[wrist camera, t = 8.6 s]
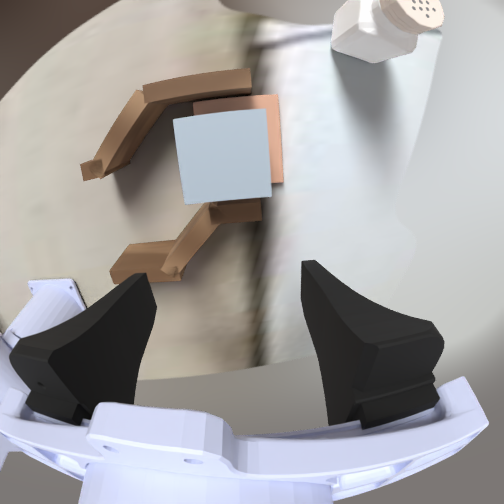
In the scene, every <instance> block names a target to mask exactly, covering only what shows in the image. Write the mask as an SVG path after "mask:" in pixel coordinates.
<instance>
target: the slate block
mask: <svg viewBox="0 0 504 504" xmlns="http://www.w3.org/2000/svg"><path fill="white" fill-rule="evenodd" d="M173 125H174V133H175V141H176V148H177V156H178V163H179V170H180V177H181V183H182V189H183V196H184V202H185V205H187V204H196V203H205V202H215V201H225V200H235V199H247V198H259V197H272V189H271V172H270V157H269V143H268V129H267V116H266V108H265V109H250V110H238V111H228V112H219V113H211V114H203V115H196V116H190V117H183V118H178V119H173Z"/></svg>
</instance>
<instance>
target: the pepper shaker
mask: <svg viewBox="0 0 504 504" xmlns="http://www.w3.org/2000/svg"><path fill="white" fill-rule="evenodd" d="M444 17H445V16H444V13H443V9H442V5H441V3H440V2H439V0H348V1H347V2H346V3H345V4H344V5H343V6H342V7H341V8H340V9H339V10H338V11H337V12H336V13H335V15H334V23H333V30H332V37H331V46H332V49H334V50H335V51H337V52H340V53H343V54H346V55H350V56H353V57H356V58H358V59H361V60H364V61H367V62H370V63H378V62H381V61H385V60H388V59H391V58H395V57H398V56H402V55H406V54H409V53H412V52H413V50H414V49H415V48H416V45H417V40H418V34H421V33H423V32H426V31H429V30H432V29H435V28H438V27H441V26H442V23H443V20H444Z"/></svg>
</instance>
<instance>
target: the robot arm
mask: <svg viewBox="0 0 504 504" xmlns="http://www.w3.org/2000/svg"><path fill="white" fill-rule="evenodd" d="M28 286H29V288H30V290H31V293H32V295H33V297H32V298H31V300H30V301H29V302H28V303H27V304H26V306H25V307H24V308H23V309H22V310H21V312H20V313H19V314H18V315H17V317H16V318H15V319H14V321H13V322H12V323H11V325H10V326H9V327H8V329H7V330H6V331H5V332H4V333H3V334H1V332H0V471H1V469H2V466H3V464H4V461H5V459H6V457H7V454H8V452H12V451H22V452H24V453H25V454H27V455H29V456H31V457H32V458H34V459H36V460H38V461H40V462H42V463H44V464H46V465H48V466H50V467H52V468H54V469H56V470H58V471H60V472H63V473H65V474H67V475H69V476H72V477H74V478H76V479H79V480H81V481H83V485H82V490H81V494H80V498H79V503H78V504H333V501H335V500H339V499H343V498H347V497H351V496H354V495H358V494H361V493H364V492H367V491H370V490H373V489H376V488H379V487H382V486H385V485H387V484H390V483H392V482H395V481H398V480H400V479H402V478H405V477H407V476H410V475H412V474H414V473H416V472H419V471H421V470H423V469H425V468H427V467H429V466H431V465H433V464H436V463H438V462H440V461H442V460H444V459H445V458H448V457H450V456H452V455H453V454H455V453H457V452H458V451H459V450H461V449H462V448H463V447H464V446H466V445H467V444H468V443H469V442H470V441H471V440H472V439H474V438H475V437H476V436H477V435H478V434H479V433H480V432H481V431H482V430H483V429H485V428H486V426H488V424H489V422H488V420H487V418H486V416H485V414H484V412H483V410H482V408H481V406H480V404H479V402H478V400H477V399H476V396H475V394H474V393H473V391H472V389H471V387H470V386H469V384H468V382H467V380H466V378H465V377H464V376H462V377H459V378H457V379H455V380H452V381H450V382H447V383H445V384H443V385H441V386H440V387H438V388H437V389H435V387H434V385H433V383H434V382H435V377H434V375H433V373H432V371H433V369H434V367H435V366H436V364H437V362H438V360H439V358H440V356H441V354H442V352H443V349H444V340H443V337H442V336H441V334H440V333H439V331H438V330H437V329H436V327H435V326H434V324H433V323H432V322H431V321H427V320H423V319H419V318H414V317H410V316H407V315H404V314H401V313H398V312H395V311H393V310H390V309H388V308H386V307H383V306H381V305H379V304H377V303H375V302H373V301H371V300H369V299H367V298H365V297H364V296H362V295H360V294H358V293H357V292H355V291H354V290H352V289H351V288H349V287H348V286H347V285H345V284H344V283H342V282H341V281H340V280H338V279H337V278H336V277H335V276H333V275H332V274H331V273H330V272H329V271H327V270H326V269H325V268H324V267H323V266H322V265H320V264H319V263H318V262H317V261H316V260H308V261H302V263H301V302H302V307H303V312H304V317H305V320H306V323H307V326H308V329H309V332H310V335H311V338H312V341H313V344H314V347H315V350H316V353H317V357H318V361H319V366H320V371H321V376H322V382H323V388H324V394H325V401H326V407H327V415H328V424H329V426H327V427H321V428H314V429H307V430H300V431H292V432H283V433H271V434H256V435H233V432H232V429H231V427H230V426H229V425H228V424H227V423H226V422H225V421H224V420H223V419H222V418H220V417H218V416H215V415H213V414H210V413H208V412H203V411H197V410H190V409H176V408H161V407H150V406H141V405H134V397H135V389H136V383H137V377H138V372H139V367H140V363H141V360H142V357H143V354H144V351H145V348H146V345H147V342H148V339H149V336H150V334H151V331H152V328H153V325H154V320H155V315H156V310H157V305H156V302H155V299H154V296H153V293H152V290H151V287H150V284H149V280H148V277H147V274H146V273H135V274H133V275H131V276H130V277H128V278H127V279H126V280H124V281H123V282H122V283H120V284H119V285H118V286H117V287H115V288H114V289H113V290H111V291H110V292H109V293H108V294H106V295H105V296H104V297H102V298H101V299H100V300H98V301H97V302H96V303H94V304H93V305H92V306H90V307H89V308H87V309H86V307H85V305H84V303H83V301H82V298H81V296H80V294H79V292H78V289H77V287H76V285H75V282H74V281H73V280H72V279H51V280H30V281H29V282H28ZM71 286H72V287H73V288H72V287H71Z"/></svg>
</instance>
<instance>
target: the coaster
mask: <svg viewBox="0 0 504 504" xmlns="http://www.w3.org/2000/svg"><path fill="white" fill-rule="evenodd" d="M265 108H266V116H267V129H268V143H269V157H270V172H271V183H278V182H283V165H282V148H281V132H280V117H279V103H278V95H257V96H244V97H233V98H223V99H215V100H207V101H200V102H193V112H194V116H196V115H203V114H211V113H219V112H228V111H238V110H250V109H265Z"/></svg>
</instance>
